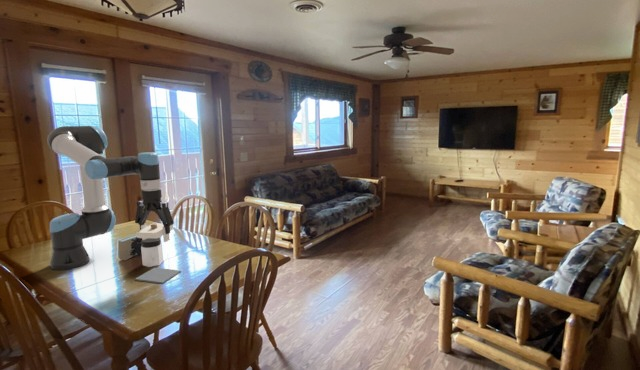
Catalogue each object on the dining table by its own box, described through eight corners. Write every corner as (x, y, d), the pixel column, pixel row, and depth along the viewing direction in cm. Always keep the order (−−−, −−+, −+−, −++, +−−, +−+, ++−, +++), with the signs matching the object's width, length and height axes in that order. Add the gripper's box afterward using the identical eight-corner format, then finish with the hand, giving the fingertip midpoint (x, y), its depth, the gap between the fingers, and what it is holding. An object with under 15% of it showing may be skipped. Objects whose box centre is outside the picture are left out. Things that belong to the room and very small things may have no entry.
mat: (135, 280, 148) (134, 278, 148) (154, 268, 160) (154, 267, 159) (163, 283, 145) (163, 282, 145) (181, 271, 156) (181, 270, 156)
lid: (137, 237, 145) (135, 229, 144) (153, 228, 154) (151, 220, 153) (157, 238, 143) (155, 229, 142) (172, 229, 152) (171, 220, 151)
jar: (143, 268, 160) (141, 243, 158) (141, 262, 166) (139, 238, 164) (164, 264, 165) (162, 240, 162) (161, 258, 171) (159, 235, 169)
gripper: (121, 189, 144) (127, 240, 148) (168, 192, 139) (173, 244, 143) (135, 186, 151) (140, 235, 155) (180, 188, 146) (184, 239, 150)
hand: (155, 239), depth 149 cm, fingers closed on lid, 10 cm apart
